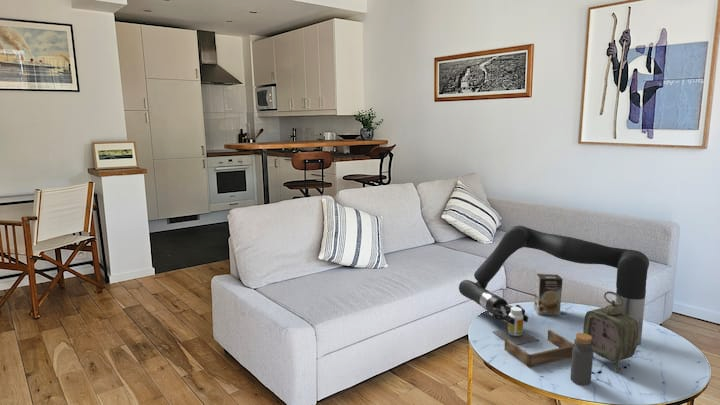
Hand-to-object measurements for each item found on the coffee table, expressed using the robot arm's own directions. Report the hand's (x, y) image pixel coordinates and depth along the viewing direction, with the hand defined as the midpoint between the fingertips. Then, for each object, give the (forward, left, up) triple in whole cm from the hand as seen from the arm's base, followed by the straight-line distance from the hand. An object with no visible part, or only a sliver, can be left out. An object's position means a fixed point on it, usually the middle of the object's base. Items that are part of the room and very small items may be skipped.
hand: (520, 320), depth 173 cm
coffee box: (-4, -30, -8) cm, 31 cm away
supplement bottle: (+2, -2, -6) cm, 7 cm away
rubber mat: (+2, -2, -7) cm, 8 cm away
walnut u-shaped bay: (-8, +6, -7) cm, 13 cm away
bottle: (-23, +18, -8) cm, 31 cm away
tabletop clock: (-30, +2, -8) cm, 31 cm away
